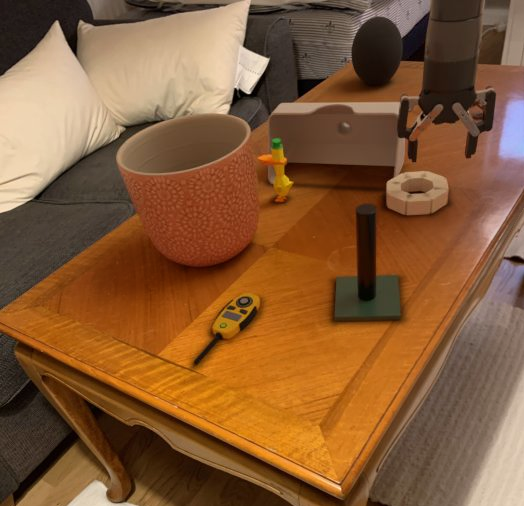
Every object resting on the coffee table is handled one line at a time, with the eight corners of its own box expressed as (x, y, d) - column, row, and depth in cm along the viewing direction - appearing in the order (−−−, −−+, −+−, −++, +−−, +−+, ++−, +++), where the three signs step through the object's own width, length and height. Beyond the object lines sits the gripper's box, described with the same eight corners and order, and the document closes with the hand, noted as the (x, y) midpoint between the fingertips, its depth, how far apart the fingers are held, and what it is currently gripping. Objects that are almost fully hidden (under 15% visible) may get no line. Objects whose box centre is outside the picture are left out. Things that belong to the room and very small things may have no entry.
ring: (429, 180, 96) (430, 165, 94) (459, 207, 88) (461, 191, 86) (374, 195, 95) (375, 180, 93) (400, 224, 88) (401, 208, 85)
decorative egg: (405, 74, 134) (408, 7, 124) (396, 93, 127) (398, 23, 116) (358, 76, 139) (357, 11, 128) (346, 94, 131) (344, 27, 120)
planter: (193, 208, 102) (166, 110, 88) (288, 222, 93) (274, 115, 80) (129, 271, 90) (87, 167, 76) (231, 293, 81) (204, 181, 68)
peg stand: (397, 281, 77) (401, 187, 67) (400, 322, 71) (405, 226, 61) (336, 283, 79) (331, 192, 68) (334, 323, 73) (328, 230, 62)
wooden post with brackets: (490, 117, 108) (484, 96, 106) (455, 128, 114) (449, 107, 112) (494, 114, 109) (488, 92, 107) (459, 124, 115) (453, 104, 113)
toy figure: (260, 204, 99) (250, 143, 91) (268, 194, 101) (259, 134, 93) (292, 208, 96) (285, 145, 88) (300, 198, 99) (293, 136, 90)
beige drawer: (410, 152, 105) (413, 86, 96) (394, 192, 95) (396, 124, 86) (294, 149, 114) (287, 89, 105) (268, 185, 104) (258, 123, 95)
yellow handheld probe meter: (265, 295, 77) (206, 363, 68) (267, 305, 78) (209, 372, 70) (239, 287, 79) (178, 352, 71) (241, 297, 80) (182, 362, 72)
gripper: (500, 37, 76) (482, 145, 87) (399, 48, 78) (394, 151, 90) (510, 53, 71) (489, 166, 82) (402, 64, 73) (397, 172, 85)
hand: (440, 158), depth 86 cm, fingers open, 8 cm apart
